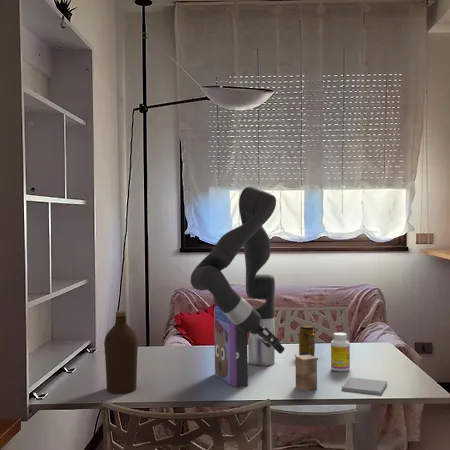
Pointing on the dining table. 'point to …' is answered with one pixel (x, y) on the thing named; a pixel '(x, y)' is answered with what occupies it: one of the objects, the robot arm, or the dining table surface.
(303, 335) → the condiment
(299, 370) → the walnut block
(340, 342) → the supplement bottle
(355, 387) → the slate tile
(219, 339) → the cereal box
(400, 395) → the dining table surface
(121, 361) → the olive oil
